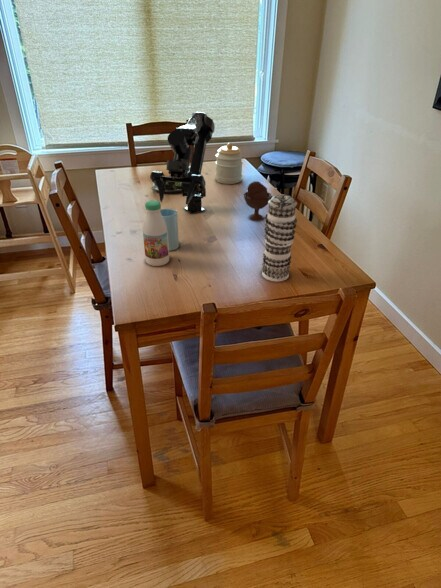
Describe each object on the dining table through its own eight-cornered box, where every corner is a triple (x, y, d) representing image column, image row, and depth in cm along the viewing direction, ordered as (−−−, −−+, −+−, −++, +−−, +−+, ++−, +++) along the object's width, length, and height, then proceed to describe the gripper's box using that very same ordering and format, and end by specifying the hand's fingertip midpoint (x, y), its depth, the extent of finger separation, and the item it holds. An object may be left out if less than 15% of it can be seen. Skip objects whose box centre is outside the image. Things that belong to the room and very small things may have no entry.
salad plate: (148, 181, 197) (147, 171, 194) (185, 179, 200) (184, 169, 198) (151, 195, 181) (151, 185, 179) (191, 193, 185) (191, 183, 182)
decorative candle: (269, 284, 122) (277, 205, 108) (255, 270, 129) (260, 194, 115) (295, 278, 125) (306, 201, 111) (280, 264, 132) (288, 190, 118)
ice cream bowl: (268, 224, 157) (271, 186, 149) (240, 222, 159) (241, 184, 151) (271, 214, 166) (274, 177, 158) (244, 211, 168) (246, 175, 159)
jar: (217, 175, 206) (217, 139, 196) (242, 176, 205) (244, 140, 195) (213, 183, 196) (213, 145, 186) (240, 185, 194) (242, 147, 184)
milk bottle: (146, 255, 136) (140, 198, 125) (169, 254, 136) (166, 197, 125) (145, 267, 129) (138, 207, 118) (169, 266, 130) (165, 207, 119)
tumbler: (158, 242, 144) (155, 209, 137) (177, 240, 145) (175, 207, 138) (160, 251, 138) (157, 217, 131) (180, 249, 140) (178, 215, 133)
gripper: (149, 147, 137) (140, 190, 134) (203, 151, 134) (195, 195, 131) (158, 164, 148) (150, 204, 145) (208, 167, 144) (201, 208, 142)
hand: (173, 202), depth 140 cm, fingers open, 9 cm apart
